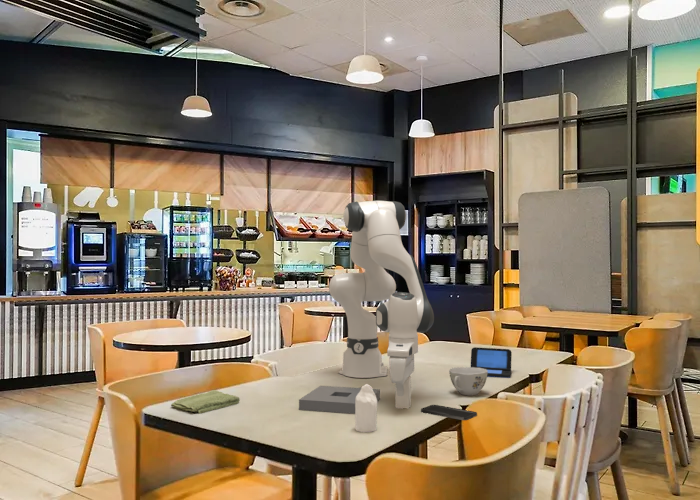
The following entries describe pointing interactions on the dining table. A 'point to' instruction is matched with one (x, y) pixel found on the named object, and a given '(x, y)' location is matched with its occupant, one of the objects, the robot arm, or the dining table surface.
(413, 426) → the dining table surface
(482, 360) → the handheld game console
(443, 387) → the dining table surface
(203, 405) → the washcloth
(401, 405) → the charger plug
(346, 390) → the grey socket board
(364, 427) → the white bottle
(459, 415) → the phone
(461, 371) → the teacup
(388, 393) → the dining table surface
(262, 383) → the dining table surface
